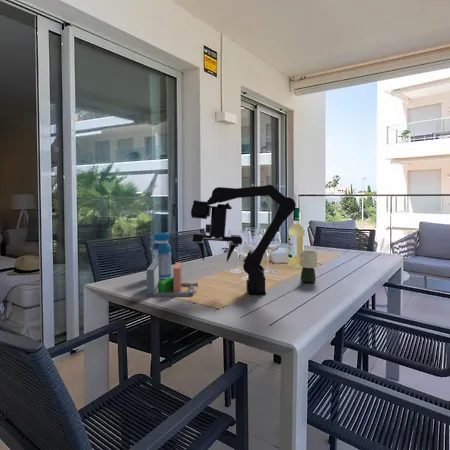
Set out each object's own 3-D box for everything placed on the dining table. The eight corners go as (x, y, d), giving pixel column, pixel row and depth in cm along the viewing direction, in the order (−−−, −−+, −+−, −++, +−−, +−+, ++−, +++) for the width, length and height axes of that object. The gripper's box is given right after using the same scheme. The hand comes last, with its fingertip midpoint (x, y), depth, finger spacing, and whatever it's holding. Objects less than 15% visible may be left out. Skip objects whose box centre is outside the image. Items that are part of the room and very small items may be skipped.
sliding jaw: (198, 285, 146) (198, 262, 145) (197, 293, 135) (197, 268, 134) (176, 286, 146) (175, 262, 145) (173, 293, 135) (173, 268, 134)
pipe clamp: (167, 287, 146) (167, 276, 145) (176, 288, 144) (175, 277, 144) (154, 295, 135) (154, 282, 134) (163, 295, 134) (163, 283, 133)
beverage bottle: (167, 280, 156) (167, 234, 154) (149, 279, 158) (148, 234, 156) (174, 275, 165) (173, 232, 163) (157, 274, 166) (156, 231, 164)
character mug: (308, 278, 159) (308, 249, 158) (322, 281, 154) (323, 251, 153) (293, 282, 152) (293, 252, 151) (307, 285, 147) (308, 254, 146)
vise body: (194, 285, 148) (194, 261, 147) (192, 295, 133) (192, 269, 132) (152, 285, 147) (151, 261, 146) (145, 296, 132) (145, 269, 131)
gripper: (239, 219, 146) (236, 257, 147) (193, 216, 144) (190, 255, 145) (243, 222, 135) (240, 263, 136) (193, 219, 133) (191, 260, 134)
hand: (215, 260), depth 138 cm, fingers open, 9 cm apart
